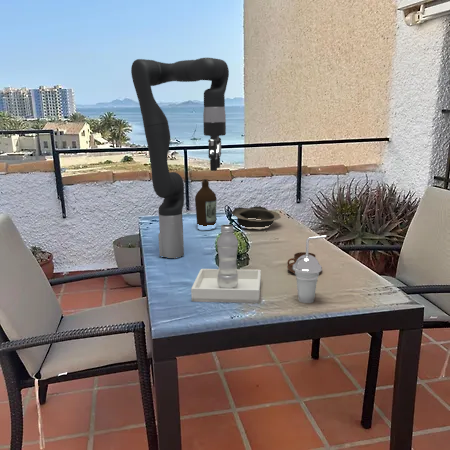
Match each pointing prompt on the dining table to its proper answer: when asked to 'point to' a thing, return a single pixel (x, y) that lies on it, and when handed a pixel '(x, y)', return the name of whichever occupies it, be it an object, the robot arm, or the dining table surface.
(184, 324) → the dining table surface
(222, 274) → the plastic bottle
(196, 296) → the tray
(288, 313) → the dining table surface
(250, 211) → the stone bowl
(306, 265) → the cup with straw
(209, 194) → the olive oil
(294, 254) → the cup and saucer
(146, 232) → the dining table surface
